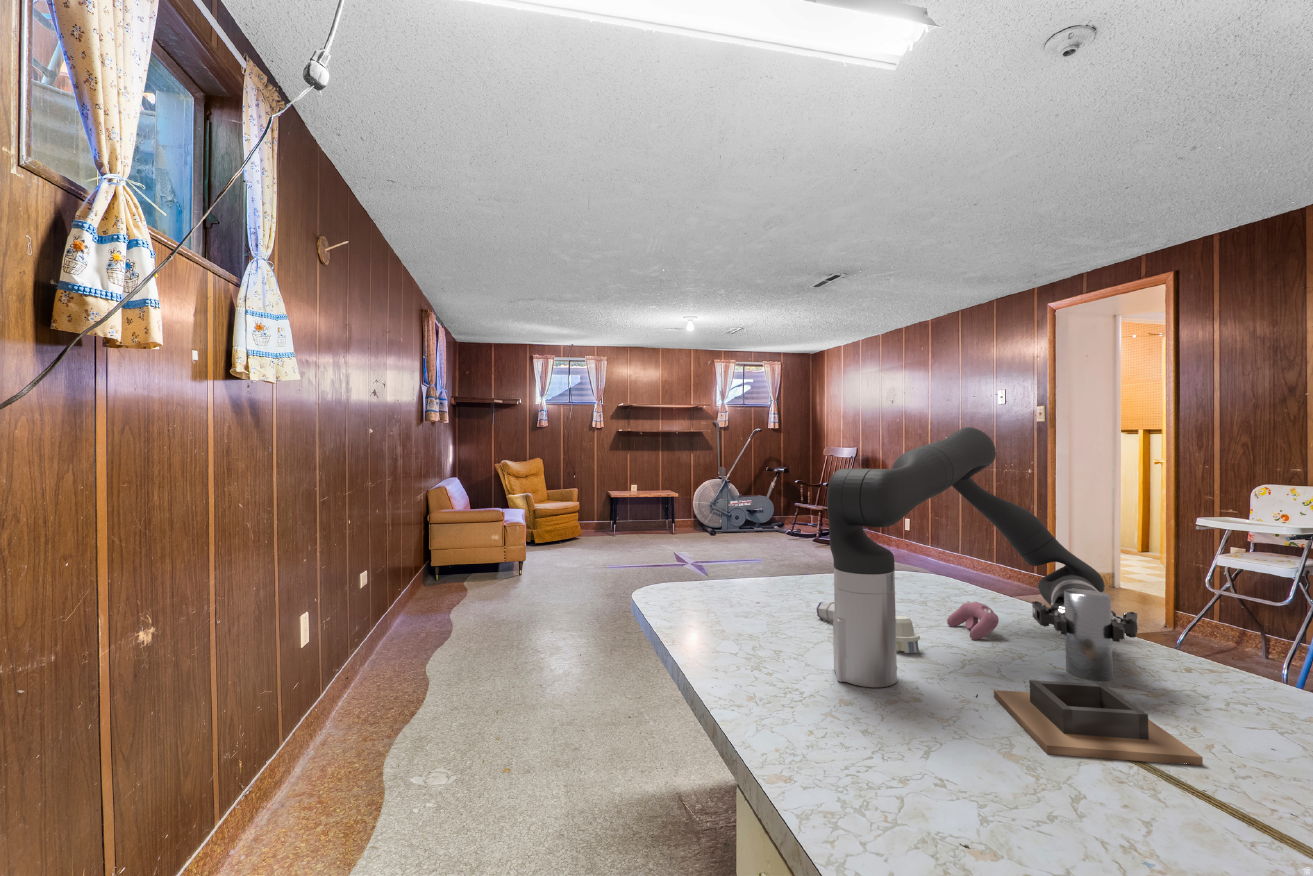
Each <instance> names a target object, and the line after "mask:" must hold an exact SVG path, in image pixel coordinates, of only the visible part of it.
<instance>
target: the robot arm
mask: <svg viewBox="0 0 1313 876" xmlns="http://www.w3.org/2000/svg"><path fill="white" fill-rule="evenodd" d="M996 450H997V449H996V445H995V444H994V442H993V440H992V438H991V437H990V436H989V435H988V434H986V433H985V432H984V431H982V430H980V429H978V428H975V427H970V426H968V427H967V426H966V427H962V428H960V429H958V430H957V431H955V432H953V433H951V434H950V435H949V436H948V437H946V438H944V439H942V440H937V441H935V442H934V441H933V442H931V443H928V444H925V445H922V446H918V447H916V448H913V449H910V450H908V451H905V452H904V453H902V454H900V455H899V456H898V457H897V458H896V460H895V461H894V463H893V465H892V468H891V469H890V468H840V469H838V470H836V471H834V472H833V474H832V475H831V477H830V479H829V481H828V485H827V492H826V504H827V505H826V509H827V518H828V519H827V521H828V532H829V533H828V535H829V537H828V538H829V547H830V552H831V554H832V559H833V589H834V590H833V591H834V592H833V594H834V595H833V596H834V599H833V600H834V601H833V602H834V605H835V610H834V611H833V623H832V633H833V635H832V636H833V637H832V638H833V670H834V672H835V675H836V679H837V681H838V682H841V683H849V684H851V685H855V686H859V687H865V688H884V687H885V688H886V687H889V686H892V685H894V684H895V683H897V682H898V664H897V661H898V660H897V652H896V616H897V615H896V579H895V578H896V577H895V576H896V574H895V569H896V568H895V563H896V562H895V556H894V553H893V552H892V551H891V550H890V549H888V548H886V547H884V546H882V545H881V544H878V543H877V542H875V541H874V540H872V539H871V538H870V537H869V536H868V535H867V534H866V533H865V530H864V527H867V528H888V527H891V526H893V525H896V524H897V523H898V522H900V520H902V519H904V517H906V516H907V515H908V514H909V513H910V512H911V511H913V509H915V508H916V507H917V506H919V505H920V504H922V503H924V502H926V501H927V500H930V499H932V498H934V497H936V496H938V495H939V494H941V493H944V492H945V491H946V490H948V489H949V488H951V487H953V489H954V490H956V491H957V492H958V493H959V494H960V496H962V497H963V498H964V499H965V500H966V501H967V502H968V503H970V504H971V506H973V507H974V509H976V510H977V511H979V512H980V513H981V514H982V515H983V516H984V517H985V518H986V519H987V520H988V521H989V522H990V523H991V524H992V525H993V526H994V527H995V528H996V529H997V530H998V531H999V532H1000V533H1001V534H1002V535H1003V537H1004V538H1005V539H1006V540H1007V542H1008V543H1009V544H1010V545H1011V547H1012V548H1014V550H1015V551H1016V552H1017V554H1019V555H1020V557H1021V558H1022V559H1023V560H1024V562H1025V563H1026V564H1028V565H1030V566H1031V567H1038V566H1043V565H1045V564H1050V563H1059V564H1062V565H1064V566H1063V567H1060V568H1058V569H1056V570H1054V571H1053V572H1051V573H1049V574H1047V575H1044V576H1043V577H1042V578H1041V579H1040V580H1039V582H1038V591H1039V594H1040V595H1041V597H1042V598H1043V600H1044V601H1045V602H1046V603H1047V604H1048V605H1049V606H1050V607H1049V606H1048V607H1047V606H1046V604H1045V603H1041V602H1039V601H1037V600H1036V601H1032V602H1031V605H1032V608H1031V609H1032V618H1033V619H1034V620H1035V621H1036V623H1038V624H1039V625H1040V626H1042V627H1045V628H1046V627H1049V626H1050V625H1051V626H1052V625H1053V628H1054V631H1056V632H1060V634H1061V635H1062V636H1065V635H1067V622H1066V618H1065V608H1064V590H1067V589H1084V590H1092V591H1098V592H1103V593H1104V591H1105V587H1106V586H1105V581H1104V579H1103V577H1102V576H1101V574H1100V573H1099V572H1098V571H1097V570H1096V569H1095V568H1093V567H1092V566H1090V565H1089V564H1088V563H1086V562H1084V561H1083V559H1080V558H1079V557H1077V556H1076V555H1075V554H1073V553H1072V552H1070V551H1069V550H1068V549H1067V548H1065V546H1063V545H1062V544H1061V543H1060V542H1059V541H1058V540H1057V539H1056V538H1055V536H1053V534H1052V533H1051V532H1050V530H1049V529H1048V528H1047V527H1046V526H1045V525H1044V523H1042V521H1041V520H1040V519H1039V518H1038V517H1037V516H1035V515H1034V514H1033V513H1032V512H1031V511H1029V510H1028V509H1027V508H1025V507H1022V506H1020V505H1018V504H1015V503H1013V502H1010V501H1008V500H1006V499H1003V498H1000V497H998V496H997V495H994V494H993V493H991V492H988V491H987V490H986V489H984V488H982V487H981V486H980V485H979V484H977V482H976V481H974V479H973V478H972V477H973V476H975V475H976V474H978V473H979V472H981V471H983V470H985V469H987V468H989V467H990V466H991V464H993V463H994V461H995V460H996V456H997V451H996ZM1138 631H1139V624H1138V613H1137V612H1134V611H1127V612H1123V613H1122V615H1119V614H1117V613H1116V612H1115V611H1114V610H1112V609H1111V633H1112V642H1116V643H1117V642H1118V643H1120V640H1125V637H1127V638H1128V637H1129V638H1137V635H1138Z"/></svg>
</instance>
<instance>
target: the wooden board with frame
mask: <svg viewBox="0 0 1313 876" xmlns="http://www.w3.org/2000/svg"><path fill="white" fill-rule="evenodd" d="M993 698H994V699H995V700H996V701H997V702H998V703H999V704H1000V705H1001V706H1002V708H1003V709H1005V710H1006V712H1007V713H1008V714H1009V715H1010V716H1011V717H1012V718H1013V719H1014V720H1015V722H1017V723H1018V724H1019V725H1020V727H1021V728H1022V729H1023V730H1024V731H1025V732H1026V734H1028V735H1029V736H1030V737H1031V739H1033V740H1034V741H1035V743H1036V744H1037V745H1038V746H1039V747H1040V748H1041V749H1042V751H1044V752H1045V754H1046V755H1055V756H1071V757H1084V758H1095V759H1096V758H1097V759H1109V760H1121V761H1122V760H1123V761H1137V762H1149V763H1162V764H1163V763H1164V764H1173V763H1183V764H1182V765H1186V763H1187V764H1191V765H1190V766H1199V765H1203V766H1204V764H1203V763H1204V762H1203V760H1204V758H1203V756H1202V755H1201V754H1199V753H1198V752H1197V751H1195V750H1193V749H1192V748H1191V747H1189V746H1188V745H1186V744H1185V743H1183V742H1182V741H1180V740H1179V739H1178V738H1177V737H1175V736H1173V735H1172V734H1170V733H1169V732H1168V731H1166V730H1165V729H1163V728H1162V727H1160V726H1159V725H1157V724H1156V723H1155V722H1153V721H1152V720H1150V719H1149V714H1148V713H1146V712H1145V711H1144V710H1142V709H1141V708H1139V707H1138V706H1136V704H1133V703H1132V702H1130V701H1129V700H1127V699H1126V698H1125V697H1123V696H1121V695H1120V694H1119V693H1117V692H1116V691H1114V690H1113V689H1111V687H1109V686H1107V685H1106V684H1105V683H1093V682H1092V683H1089V682H1088V683H1087V682H1074V681H1073V682H1072V681H1071V682H1070V681H1058V680H1057V681H1055V680H1054V681H1053V680H1037V679H1036V680H1035V679H1034V680H1033V679H1030V680H1029V691H1016V690H1015V691H1012V690H1001V689H1000V690H997V689H996V690H995V689H993ZM1166 762H1167V763H1166ZM1184 763H1185V764H1184ZM1192 764H1193V765H1192Z"/></svg>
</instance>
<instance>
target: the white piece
mask: <svg viewBox="0 0 1313 876" xmlns="http://www.w3.org/2000/svg"><path fill="white" fill-rule="evenodd" d="M834 610H835V605H834V601H821V602H819V603H818V605H817V607H816V615H817V617H818V618H819V619H821V620H823V621H826V620H827V621H826V622H829V623H830V624H833V611H834ZM920 639H921V637H920V634H918V633H915V629H914V625H913V621H912V620H911V618H910V617H909V616H905V615H904V616H903V615H896V653H899V652H904V654H914V653H918V652H919V651H920V648H919V642H918V641H919V640H920Z"/></svg>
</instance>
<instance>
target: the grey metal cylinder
mask: <svg viewBox="0 0 1313 876" xmlns="http://www.w3.org/2000/svg"><path fill="white" fill-rule="evenodd" d="M1111 601H1112V598H1111V594H1108V593H1106V592H1104V591H1103V592H1098V591H1092V590H1084V589H1067V590H1064V608H1065V618H1066V622H1067V635H1064V636H1065V637H1064V639H1065V640H1064V642H1065V643H1064V645H1065V649H1064V650H1065V671H1066V673H1067V674H1068V675H1071V676H1073V677H1075V678H1078V679H1082V680H1086V681H1092V682H1099V683H1100V682H1103V683H1105V682H1111V681H1113V680H1114V677H1113V674H1114V673H1113V672H1114V671H1113V640H1112V633H1111V610H1112V602H1111Z"/></svg>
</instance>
